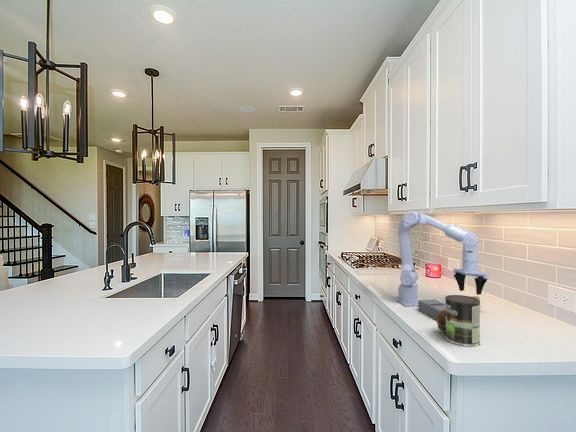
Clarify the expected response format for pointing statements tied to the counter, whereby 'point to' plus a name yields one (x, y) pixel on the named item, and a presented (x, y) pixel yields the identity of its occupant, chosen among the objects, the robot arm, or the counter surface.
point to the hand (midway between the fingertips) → (470, 292)
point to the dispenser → (431, 307)
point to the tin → (442, 320)
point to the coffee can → (463, 320)
